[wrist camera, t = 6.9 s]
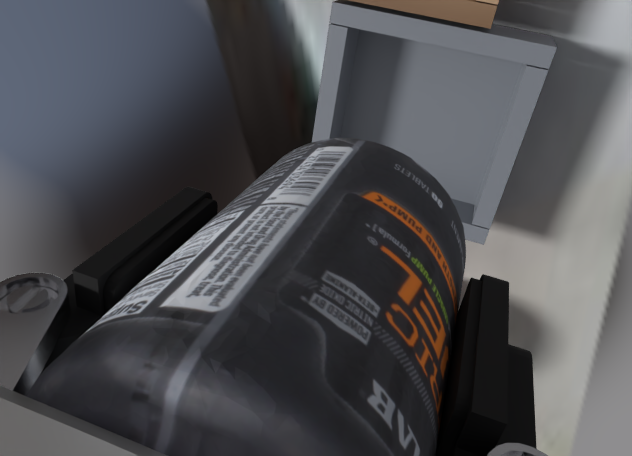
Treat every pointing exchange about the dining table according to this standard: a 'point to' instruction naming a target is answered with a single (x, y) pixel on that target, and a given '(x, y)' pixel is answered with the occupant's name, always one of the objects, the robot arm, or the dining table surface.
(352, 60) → the gray square open tray
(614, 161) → the dining table surface
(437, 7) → the brown wooden open tray
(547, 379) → the dining table surface
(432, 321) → the pill bottle
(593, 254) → the dining table surface
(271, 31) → the dining table surface
